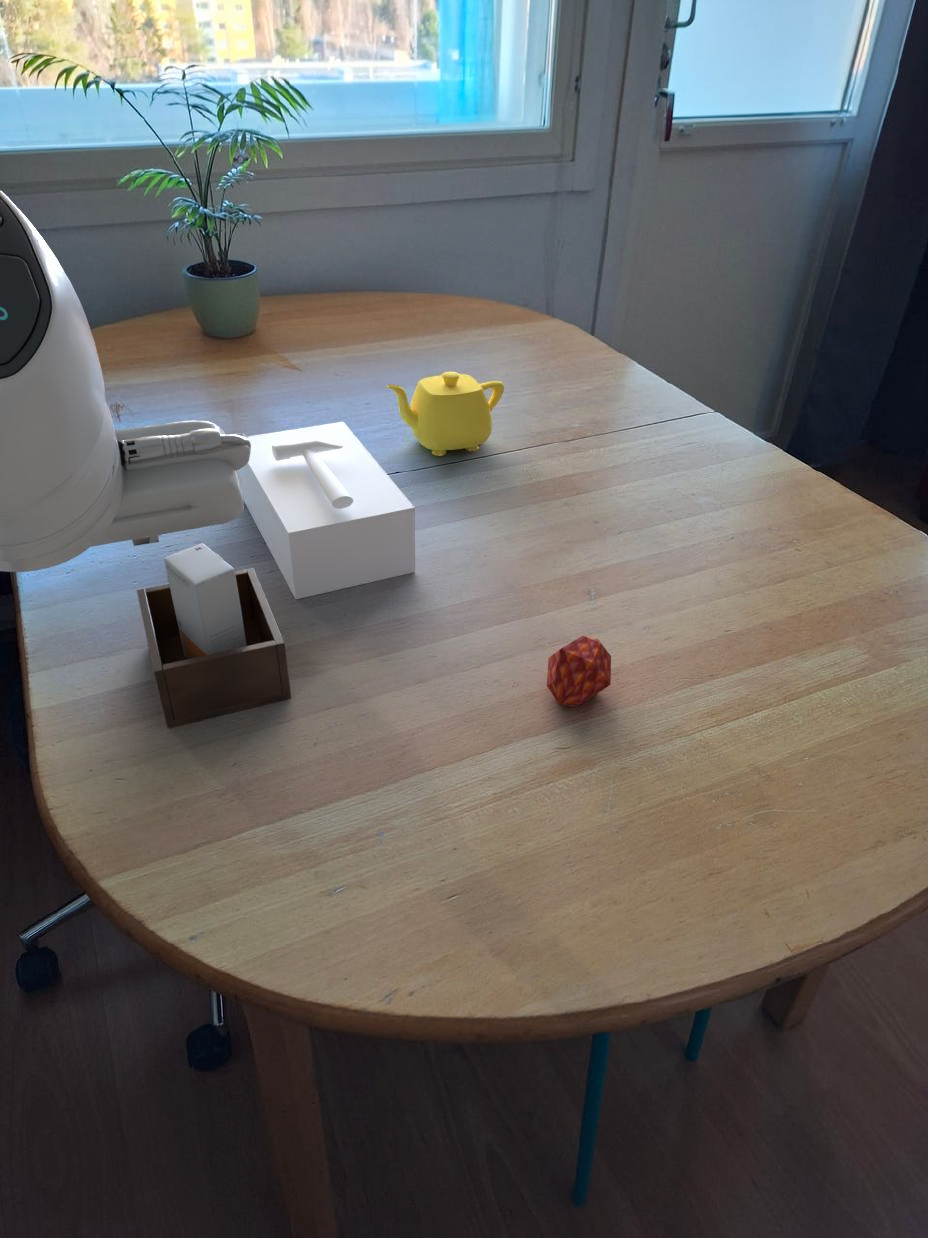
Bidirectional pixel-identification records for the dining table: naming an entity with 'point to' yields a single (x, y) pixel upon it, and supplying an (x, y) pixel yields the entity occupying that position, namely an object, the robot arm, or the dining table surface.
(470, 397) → the teapot
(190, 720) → the holder
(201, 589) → the cosmetic box
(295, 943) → the dining table surface
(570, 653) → the decorative stone
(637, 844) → the dining table surface
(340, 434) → the hammer relief block
